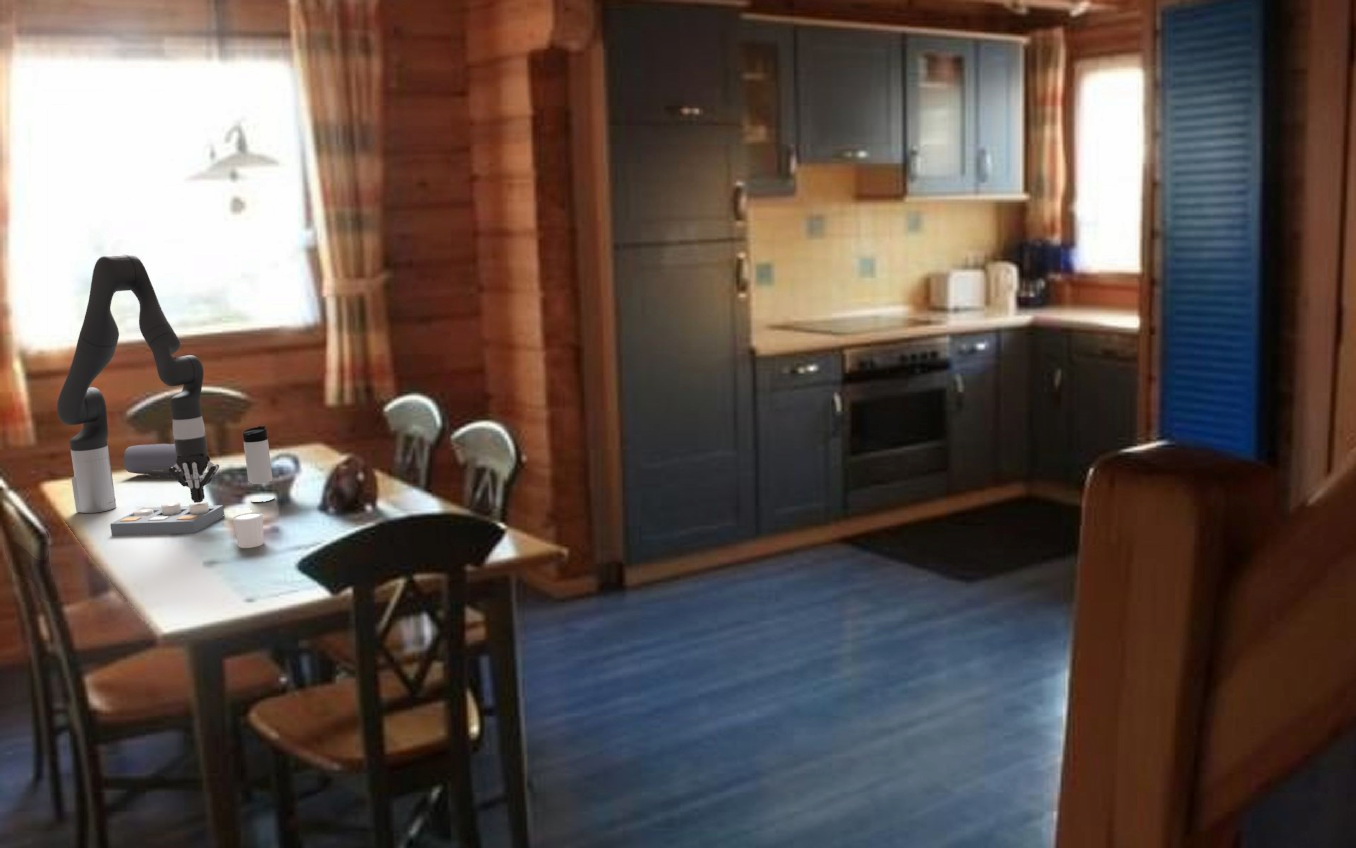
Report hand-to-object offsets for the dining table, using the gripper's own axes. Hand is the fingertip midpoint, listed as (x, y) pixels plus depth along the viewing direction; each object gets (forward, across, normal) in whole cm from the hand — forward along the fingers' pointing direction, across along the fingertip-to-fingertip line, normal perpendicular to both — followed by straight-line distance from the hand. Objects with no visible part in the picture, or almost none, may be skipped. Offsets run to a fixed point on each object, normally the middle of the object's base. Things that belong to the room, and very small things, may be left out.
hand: (198, 501), depth 331 cm
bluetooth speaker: (+6, +40, -58) cm, 71 cm away
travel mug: (+6, -6, -23) cm, 25 cm away
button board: (+6, +8, +2) cm, 10 cm away
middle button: (+4, +8, 0) cm, 8 cm away
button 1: (+5, +15, 0) cm, 16 cm away
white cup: (+6, -23, +22) cm, 33 cm away
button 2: (+3, 0, 0) cm, 3 cm away
